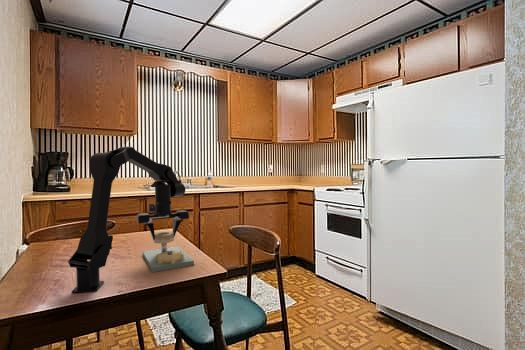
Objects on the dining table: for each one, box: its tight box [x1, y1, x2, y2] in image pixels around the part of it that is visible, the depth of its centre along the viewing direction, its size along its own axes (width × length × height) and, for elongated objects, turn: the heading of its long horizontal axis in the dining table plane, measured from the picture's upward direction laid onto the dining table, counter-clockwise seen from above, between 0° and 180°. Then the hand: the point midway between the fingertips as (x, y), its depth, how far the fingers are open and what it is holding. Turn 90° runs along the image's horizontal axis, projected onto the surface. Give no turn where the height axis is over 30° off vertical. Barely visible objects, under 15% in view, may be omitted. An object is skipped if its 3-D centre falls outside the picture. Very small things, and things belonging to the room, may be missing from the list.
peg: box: [160, 243, 168, 253], centre depth 113 cm, size 2×2×4 cm
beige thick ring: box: [153, 230, 175, 245], centre depth 113 cm, size 7×7×3 cm
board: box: [142, 246, 195, 273], centre depth 109 cm, size 22×14×4 cm, turn 30°
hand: (163, 238), depth 113 cm, fingers closed on beige thick ring, 7 cm apart
